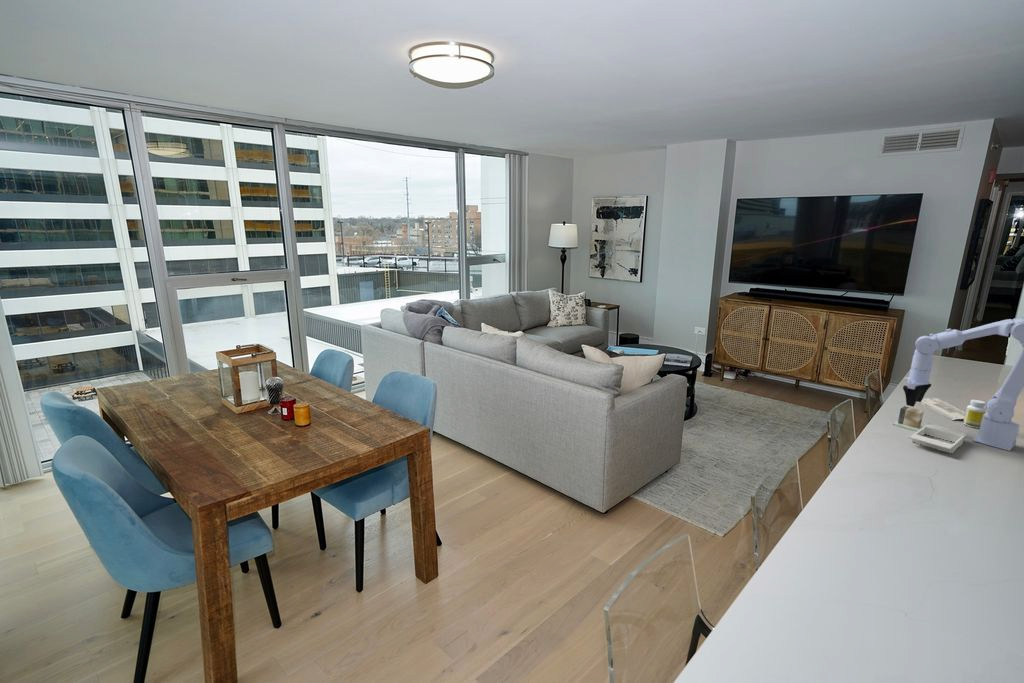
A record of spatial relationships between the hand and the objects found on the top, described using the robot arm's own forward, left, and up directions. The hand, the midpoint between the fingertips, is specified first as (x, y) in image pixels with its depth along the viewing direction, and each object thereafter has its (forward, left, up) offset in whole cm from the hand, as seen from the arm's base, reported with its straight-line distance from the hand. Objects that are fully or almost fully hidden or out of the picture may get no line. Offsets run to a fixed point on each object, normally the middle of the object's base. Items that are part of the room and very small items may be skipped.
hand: (913, 403), depth 187 cm
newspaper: (-4, -32, -10) cm, 34 cm away
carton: (-11, +10, -9) cm, 17 cm away
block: (0, 0, -9) cm, 9 cm away
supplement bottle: (-14, -20, -9) cm, 26 cm away
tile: (0, 0, -9) cm, 9 cm away
